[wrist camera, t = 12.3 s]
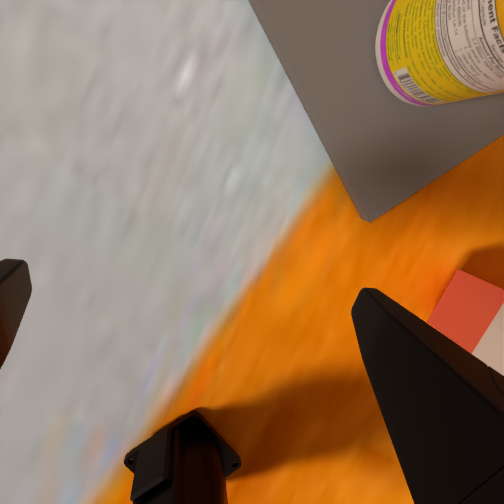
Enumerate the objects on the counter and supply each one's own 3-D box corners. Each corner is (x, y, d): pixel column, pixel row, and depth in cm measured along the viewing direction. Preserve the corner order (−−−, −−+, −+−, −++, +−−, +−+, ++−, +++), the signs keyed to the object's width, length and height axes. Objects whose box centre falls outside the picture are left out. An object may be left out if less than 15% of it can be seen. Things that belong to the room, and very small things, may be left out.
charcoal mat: (549, 95, 23) (568, 92, 22) (361, 218, 23) (370, 222, 22) (480, -171, 18) (499, -193, 17) (243, -10, 18) (246, -21, 17)
